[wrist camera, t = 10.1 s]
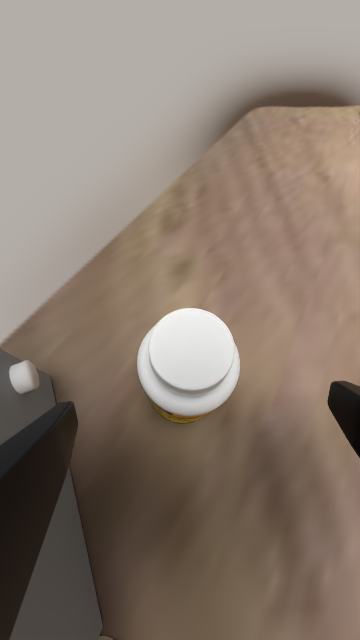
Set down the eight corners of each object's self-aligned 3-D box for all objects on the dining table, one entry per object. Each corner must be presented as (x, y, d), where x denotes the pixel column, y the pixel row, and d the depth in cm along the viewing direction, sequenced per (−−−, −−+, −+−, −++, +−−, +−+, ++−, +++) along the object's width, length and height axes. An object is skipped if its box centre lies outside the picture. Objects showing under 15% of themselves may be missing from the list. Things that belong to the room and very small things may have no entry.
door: (116, 618, 15) (51, 828, 7) (67, 646, 15) (-65, 909, 6) (60, 372, 21) (-11, 328, 13) (24, 385, 20) (-75, 348, 12)
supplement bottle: (136, 406, 20) (105, 376, 11) (165, 344, 23) (161, 276, 13) (202, 437, 20) (230, 433, 10) (226, 370, 22) (267, 316, 12)
